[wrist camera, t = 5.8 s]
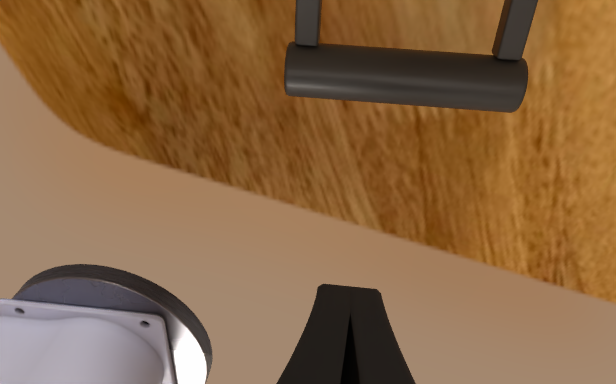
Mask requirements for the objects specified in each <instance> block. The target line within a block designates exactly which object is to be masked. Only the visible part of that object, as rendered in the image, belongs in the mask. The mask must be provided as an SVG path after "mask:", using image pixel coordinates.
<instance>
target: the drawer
mask: <svg viewBox="0 0 616 384" xmlns="http://www.w3.org/2000/svg"><path fill="white" fill-rule="evenodd" d="M537 2H538V0H505V1H504V5H503V9H502V13H501V17H500V21H499V25H498V29H497V33H496V37H495V41H494V45H493V49H492V53H493V55H482V54H468V53H453V52H439V51H424V50H410V49H395V48H381V47H366V46H352V45H337V44H323V43H319V40H320V26H321V8H322V0H296V15H295V42H294V41H292V42H290V43H289V44H288V47H287V51H286V58H285V71H284V85H285V92H286V94H287V95H288V96H296V97H310V98H323V99H336V100H349V101H363V102H376V103H389V104H402V105H416V106H429V107H442V108H455V109H468V110H482V111H495V112H508V113H511V112H514V111H516V110H517V109H518V108H519V107H520V105H521V103H522V101H523V98H524V96H525V92H526V88H527V82H528V67H527V63H526V61H525V59H523V58H522V55H523V51H524V48H525V44H526V41H527V37H528V34H529V30H530V27H531V23H532V20H533V16H534V13H535V9H536V6H537Z"/></svg>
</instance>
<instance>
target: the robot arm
mask: <svg viewBox="0 0 616 384" xmlns="http://www.w3.org/2000/svg"><path fill="white" fill-rule="evenodd" d="M0 384H176V381H175V375H174V370H173V364H172V358H171V352H170V346H169V341H168V335H167V329H166V323H165V320H164V318H163V317H162V316H160V315H158V314H151V313H141V312H132V311H122V310H112V309H103V308H93V307H83V306H73V305H64V304H54V303H44V302H35V301H25V300H15V299H5V298H1V299H0ZM277 384H415V382H414V379H413V377H412V375H411V373H410V371H409V368H408V366H407V364H406V362H405V360H404V357H403V355H402V353H401V351H400V348H399V346H398V343H397V341H396V338H395V336H394V333H393V331H392V328H391V325H390V323H389V320H388V317H387V314H386V311H385V307H384V304H383V300H382V296H381V293H380V292H379V291H378V290H377V289H370V288H360V287H349V286H339V285H330V284H322V285H320V286H319V287H318V289H317V295H316V299H315V302H314V305H313V309H312V311H311V314H310V317H309V319H308V322H307V324H306V327H305V329H304V331H303V333H302V336H301V338H300V340H299V342H298V344H297V346H296V348H295V351H294V352H293V354H292V357H291V358H290V361H289V362H288V364H287V366H286V368H285V370H284V371H283V373H282V375H281V377H280V378H279V380H278V382H277Z"/></svg>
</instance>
